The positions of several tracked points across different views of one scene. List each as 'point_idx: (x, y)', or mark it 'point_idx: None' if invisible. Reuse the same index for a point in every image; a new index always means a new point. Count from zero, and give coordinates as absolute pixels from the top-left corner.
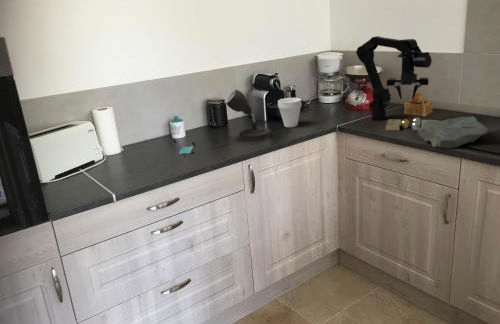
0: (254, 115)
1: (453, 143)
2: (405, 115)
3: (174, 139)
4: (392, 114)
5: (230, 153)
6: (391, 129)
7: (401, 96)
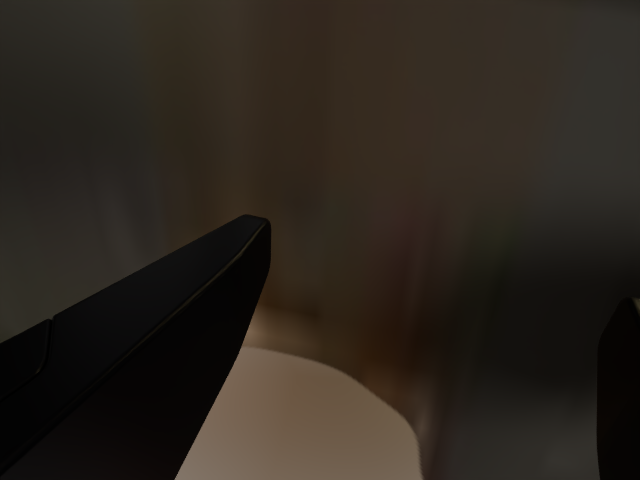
0: None
1: None
2: (418, 373)
3: None
4: (546, 434)
5: None
6: None
7: (618, 405)
